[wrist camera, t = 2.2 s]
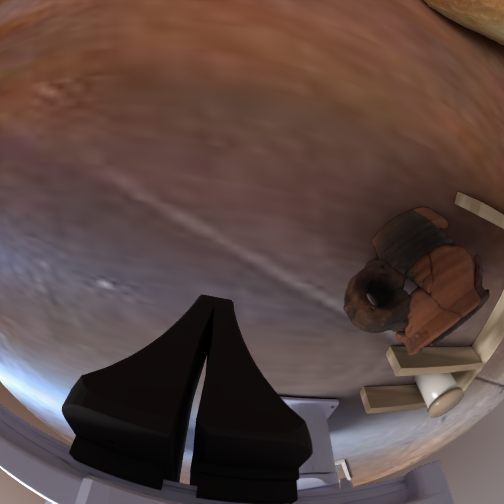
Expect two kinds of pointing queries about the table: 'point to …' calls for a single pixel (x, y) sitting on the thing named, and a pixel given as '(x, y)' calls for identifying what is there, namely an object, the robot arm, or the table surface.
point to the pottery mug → (416, 282)
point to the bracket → (440, 348)
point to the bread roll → (475, 15)
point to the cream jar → (439, 392)
